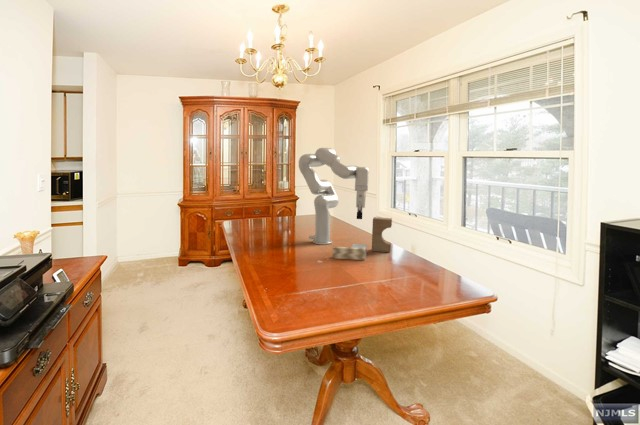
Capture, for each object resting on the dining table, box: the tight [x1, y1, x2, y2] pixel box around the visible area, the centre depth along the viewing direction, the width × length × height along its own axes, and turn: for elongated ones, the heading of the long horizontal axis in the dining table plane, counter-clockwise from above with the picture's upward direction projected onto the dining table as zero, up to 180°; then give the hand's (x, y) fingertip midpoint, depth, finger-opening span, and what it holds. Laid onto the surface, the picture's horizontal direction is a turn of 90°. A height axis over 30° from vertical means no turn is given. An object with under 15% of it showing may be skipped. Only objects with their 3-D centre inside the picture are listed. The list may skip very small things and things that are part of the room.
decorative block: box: [371, 216, 393, 253], centre depth 218 cm, size 11×6×20 cm, turn 75°
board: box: [332, 246, 367, 261], centre depth 202 cm, size 18×3×6 cm, turn 81°
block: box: [351, 243, 367, 260], centre depth 207 cm, size 8×8×6 cm
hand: (359, 218), depth 216 cm, fingers closed
